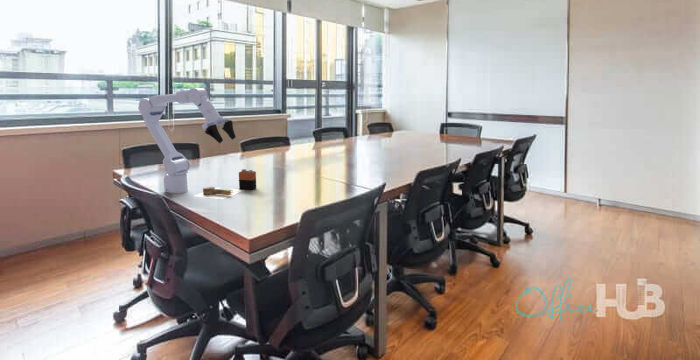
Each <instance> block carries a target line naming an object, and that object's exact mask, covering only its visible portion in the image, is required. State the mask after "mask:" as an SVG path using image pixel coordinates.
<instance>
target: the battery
mask: <svg viewBox="0 0 700 360" xmlns="http://www.w3.org/2000/svg"><path fill="white" fill-rule="evenodd" d="M238 185H239V189H238V190H244V191H254V190H256V189H257V172H256V171H255V170H253V169H249V170H247V169H244V168H243V169H241V171H239V172H238Z"/></svg>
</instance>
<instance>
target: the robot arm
mask: <svg viewBox="0 0 700 360" xmlns="http://www.w3.org/2000/svg"><path fill="white" fill-rule="evenodd" d="M174 102H177V103H178V104H180V105H182V104H183V105H185V104H194V106H196V107H197V109H198V110H199V112H200V113H201V115H202V116H203V118H204V119H205V120H206V122H204V123H203V124H202V125H201V128H202V129H203V131H204V133H205V134H206V135H208V136H210V137H211V138H213V139H214V140H215V141H216V142H217V143H218V144H221V143H222V142H223V141H224V140H223V137H222V136H221V133H220V132H219V129H218V127H219V126H223V127H222V128H221V130H223V131H224V132H225V133H226V134H227V136H228V137H229V138H230V140H235V138H236V134H235V130H234V126H233V120H231V119H230V118H229V117H227V118H226V117H223V116H222V115H220V113H219V112H218V111H217V109H216V107H215V106H214V105H213V103H212V101H211V100H210V98H209V93H208V91H207V89H205V88H203V87H189V88H187V89H185V88H183V87H182V88H179V90H176V92H175V93H169V94H160V95H153V96H148V97H147V98H141V99H140V101H139V103H138V111H139V112H140V115H141V116H142V119H143V121H144V124H145V126H146V128H147V130H148V131H149V132H150V134H151V136H152V138H153V139H154V141H155V143H156V144H157V146H158V148H159V150H160V151H161V153H162V154H163V156H164V158H163V159H162V163H163V167H164V171H165V172H166V174H165V175H164V177H163V186H164V192H165V193H171V194H184V193H188V191H189V189H188V187H189V186H188V175H187V174H188V171H189V170H190V168H191V164H190V161H189V159H188V158H186V157H185V155H184V154H183V153H181V152H179V151H177V150H176V148H175V146H174V144H173V143H172V141H171V140H170V139H171V138H169V135H167V133H166V131H165V130H164V127H163V126H162V123H160V119H161V118H162V116H163V114H164V112H165V110H166V107H167V106H168V103H174Z"/></svg>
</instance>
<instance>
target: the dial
mask: <svg viewBox="0 0 700 360" xmlns="http://www.w3.org/2000/svg"><path fill="white" fill-rule="evenodd" d="M215 188H216V187H214V186H206V187H203V188H202V193H203V194H204V195H213V194H221V195H231V190H223V189H215Z"/></svg>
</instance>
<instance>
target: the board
mask: <svg viewBox="0 0 700 360" xmlns="http://www.w3.org/2000/svg"><path fill="white" fill-rule="evenodd" d="M215 189H223V190H231V195H221V194H213V195H204V194H203V192H200V193H197V194H195V195H194V197H196V198H206V199H215V200H225V199H227V198H230V197H232V196H234V195H236V194H239V193H241V192H244V191H245V190H240V189H236V188H235V189H234V188H227V187H218V186H217V187H215Z"/></svg>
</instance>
